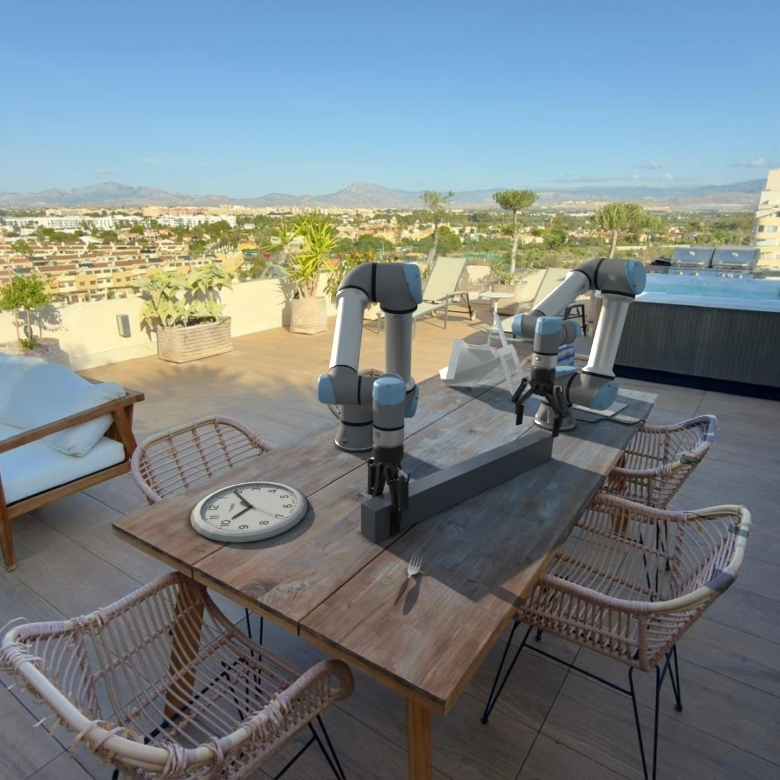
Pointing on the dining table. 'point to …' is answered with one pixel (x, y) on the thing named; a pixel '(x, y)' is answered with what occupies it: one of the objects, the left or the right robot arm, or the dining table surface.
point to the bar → (456, 483)
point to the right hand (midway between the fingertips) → (536, 430)
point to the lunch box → (565, 355)
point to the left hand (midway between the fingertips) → (386, 527)
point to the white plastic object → (480, 361)
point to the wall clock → (248, 512)
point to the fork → (412, 571)
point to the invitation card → (608, 412)
